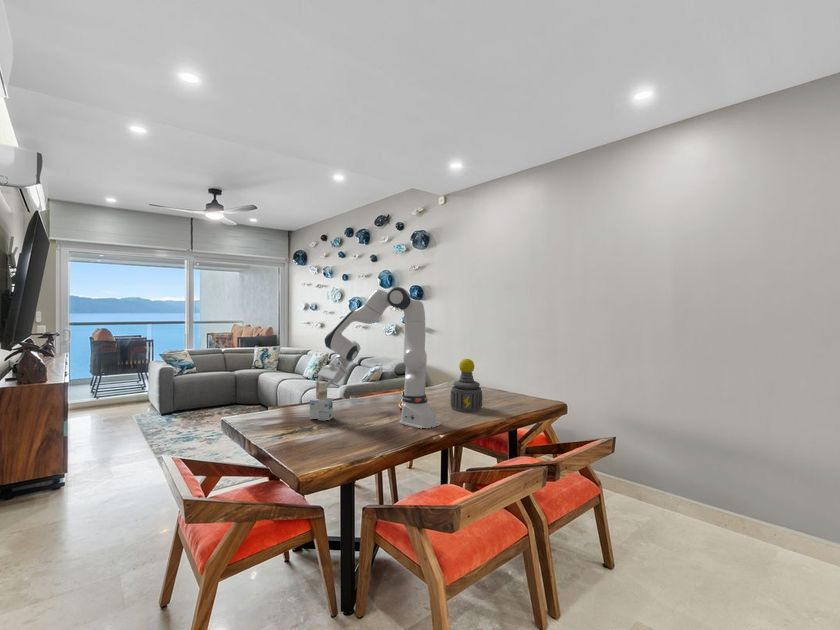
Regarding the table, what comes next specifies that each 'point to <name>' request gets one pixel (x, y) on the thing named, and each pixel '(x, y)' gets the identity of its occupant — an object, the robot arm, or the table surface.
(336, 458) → the table surface
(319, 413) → the light bulb box
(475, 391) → the decorative lamp
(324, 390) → the maple block
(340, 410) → the table surface
